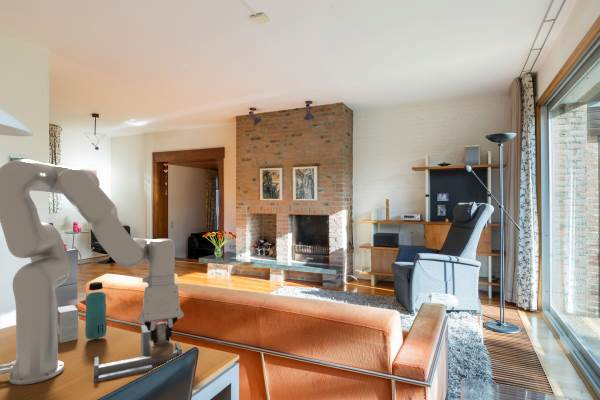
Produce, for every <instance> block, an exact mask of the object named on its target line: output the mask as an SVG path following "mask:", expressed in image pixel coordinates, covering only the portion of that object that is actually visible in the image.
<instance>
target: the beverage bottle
mask: <svg viewBox="0 0 600 400" xmlns="http://www.w3.org/2000/svg"><path fill="white" fill-rule="evenodd" d="M88 287H89V288H88V290H89V291H92V292H89V293H87V294H86V296H85V323H84V324H85V325H84V326H85V328H84V333H85V339H87V340H96V339H101V338H103V337H105V336H106V334H107V331H108V330H107V329H108V327H107V325H108V324H107V306H108V305H107V294H106V292H104V291H102V289H103V288H104V287H103V283H102V282H100V281H95V282H91V283H89V285H88ZM99 290H101V291H99Z"/></svg>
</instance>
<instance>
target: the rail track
mask: <svg viewBox="0 0 600 400" xmlns="http://www.w3.org/2000/svg"><path fill="white" fill-rule="evenodd" d="M181 354H182V355H183V349H182V347H181V345H180V342H175V343H174V349H173V356H169V357H164V358H159V359H154V360H152V359H151V356H150V355H148V356H142V355H141V356H137V357H133V358H128V359H127V358H126V359H122V360H118V361H112V362H107V363H101V364H99V363H100V359H99V356H96V357H94V363H93V364H94V365H93V369H94V371H93V373H94V374H93V375H94V376H93V383H98V382H97V381H99V382H102V381H101V380H104V381H107V380H106V379H109V380H111V379H110V378H113V379H118V378H121V377H127V376H131V375H136V374H140V373H141V374H142V373H145V372H151V371H153V370H152V369H154V368H156V367H158V366H160V365H162V364H164V363H166V362H167V361H169V360H171V359H173V358H175V357H177V356H179V355H181ZM117 377H118V378H117Z"/></svg>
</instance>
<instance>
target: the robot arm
mask: <svg viewBox="0 0 600 400" xmlns="http://www.w3.org/2000/svg"><path fill="white" fill-rule="evenodd" d="M31 191H33V192H45V193H53V194H61V195H63V196H64V197H65V199H67V200H68V202H70V203H71V205H72V206H73V207H74V209H76V210H77V212H78V213H79V214H80V215H81V216H82V217H83V219H84V220H85V221H86V223H88V225H89V227H90V230H91V232H92V233H93V236H94V237H95V238H96V240H97V242H98V244H99V245H100V246H101V248H102V249H103V250H104V251H105V252H106V253H107V254H108V256H110V257H111V259H112V260H113V261H114V262H115V263H116V264H118V265H119V266H120V267H123V268H127V269H128V268H129V269H131V268H134V267H137V266H139V265H140V264H142V263H143V262H147V276H145V277H142V283H145V284H146V285H145V287H144V291H143V299H142V300H143V302H142V311H141V312H140V315H139V316H138V318H137V319H136V320H137V323H138V324H141V325H145V326H147V327H148V328H149V329H150V330H151V340H153V343H154V344H156V343H157V330H156V327H155V322H156V320H162V321H163V320H166V322H167V325H166V340H167V341H170V339H171V338H172V329H173V327H174V325H175V324H176V323H177V322H178V320H180V319H181V318H183V317H184V316H185V314H184V312H183V310H182V308H181V304H180V303H181V301H180V290H179V285H178V283H177V282H175V274H176V273H175V272H176V271H175V269H176V268H175V261H176V260H175V258H176V256H175V255H176V253H175V252H176V251H175V248H176V246H175V244H176V243H175V242H174V240H173V239H170V238H155V239H154V238H153V239H152V238H151V239H149V238H142V237H138V238H137V237H134V238H133V237H132V236H131V234H129V233H128V231H127V230H126V228H125V227H124V226H123V224H122V223H121V221H120V219H119V215H118V210H117V205H116V204H114V201H112V200H111V199H110V197H108V195H107V194H106V193H105V192H104V191H103V189H102V188H101V187H100V179H99V177H98V176H97V175H96V174H95V173H94V172H93V171H91V170H89V169H85V168H81V167H67V166H61V165H55V164H51V163H45V162H40V161H38V160H37V161H36V160H32V159H21V158H19V159H14V160H11V161H8V162H6V163H5V164H3V165H2V166H0V227H1V229H2V232H3V235H4V239H5V242H6V246H7V249H8V251H9V252H10V254H11V255H12V256H13V257H16V258H18V259H19V258H20V259H28V258H30V262H29V263H27V264H25V265H23V266H22V267H20V269H18V270H17V271H16V273H15V274H14V276H13V279H12V291H13V296H14V302H15V323H16V324H15V325H16V326H15V360H13V361H11V362H10V363H6V364H5V363H3V364H0V375H5V374H8V382H9V383H10V384H13V385H30V384H31V385H32V384H37V383H40V382H43V381H46V380H49V379H51V378H54V377H56V376H57V375H59V374H61V373H62V372H63V371H64V369H65V363H64V361H62V360H60V359H59V341H58V307H59V305H58V302H59V301H58V298H57V294H56V289H57V288H58V287H60V286H62V285H63V284H65V282H67V280H68V279H69V276H70V274H71V265H70V262H69V258H68V254H67V251H66V247H65V244H64V241H63V238H62V235H61V233H60V231H59V230H58V229H57V228H56V227H55V226H54V225H52V224H50V223H49V222H45V221H43V222H41V219H40V216H39V214H38V213H39V212H38V209H37V206H36V204H35V202H34V201H33V198H32V197H31V195H30V192H31ZM149 321H150V322H149Z"/></svg>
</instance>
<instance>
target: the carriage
mask: <svg viewBox="0 0 600 400" xmlns="http://www.w3.org/2000/svg"><path fill="white" fill-rule="evenodd" d="M166 322H167V321H162V322H158V323H156V330H157V343H156V344H154V343H153V341H149V353H150V356H151V359H152V360H154V359H159V358H164V357H169V356H173V351H174V344H173V341H172V339H171V338H170V341H167V340H166Z"/></svg>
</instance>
